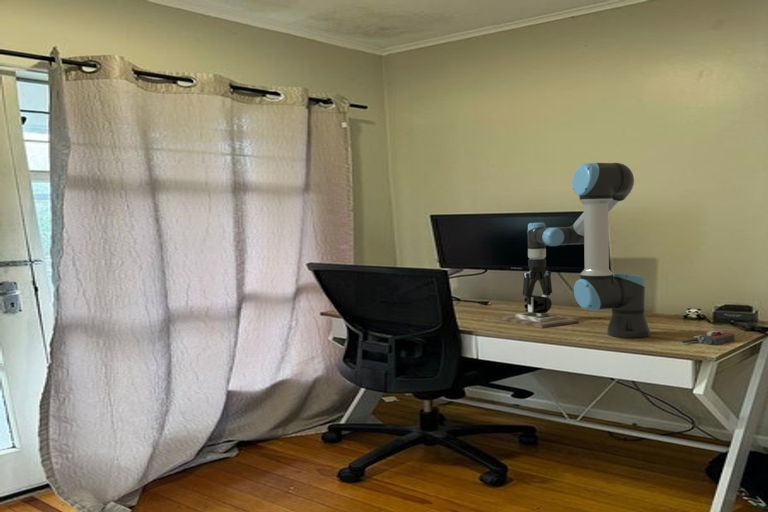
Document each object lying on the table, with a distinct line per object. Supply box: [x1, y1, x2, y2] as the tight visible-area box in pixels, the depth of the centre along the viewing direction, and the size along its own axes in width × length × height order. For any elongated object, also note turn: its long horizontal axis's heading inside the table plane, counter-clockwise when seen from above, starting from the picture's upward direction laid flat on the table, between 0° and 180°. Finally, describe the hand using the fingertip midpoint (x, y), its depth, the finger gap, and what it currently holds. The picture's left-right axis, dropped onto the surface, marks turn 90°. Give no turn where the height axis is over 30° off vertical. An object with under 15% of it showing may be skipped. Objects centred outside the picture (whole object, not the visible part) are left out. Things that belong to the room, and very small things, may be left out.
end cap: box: [523, 294, 552, 314], centre depth 284 cm, size 10×7×7 cm
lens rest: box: [499, 312, 580, 329], centre depth 284 cm, size 28×20×3 cm
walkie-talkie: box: [681, 329, 735, 346], centre depth 229 cm, size 9×4×20 cm
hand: (537, 310), depth 284 cm, fingers closed on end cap, 7 cm apart
